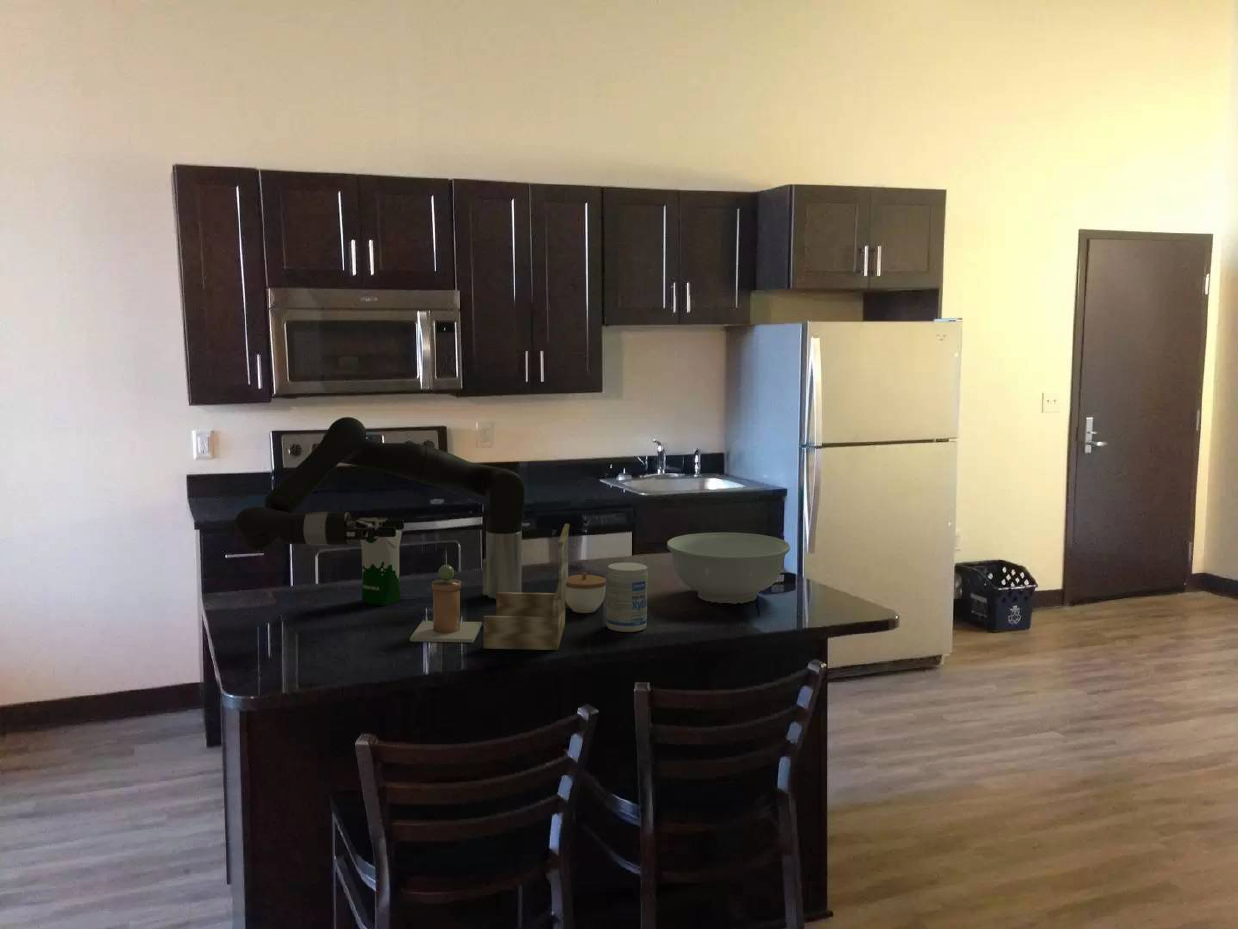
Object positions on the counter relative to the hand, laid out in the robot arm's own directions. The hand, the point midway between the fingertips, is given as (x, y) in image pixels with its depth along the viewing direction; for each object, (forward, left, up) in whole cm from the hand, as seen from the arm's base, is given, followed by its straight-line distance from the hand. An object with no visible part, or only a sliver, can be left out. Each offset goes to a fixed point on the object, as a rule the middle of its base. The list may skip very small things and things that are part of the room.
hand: (399, 528), depth 238 cm
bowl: (+48, +73, -24) cm, 90 cm away
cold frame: (+25, +15, -24) cm, 37 cm away
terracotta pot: (+9, +6, -23) cm, 26 cm away
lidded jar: (+24, +41, -24) cm, 53 cm away
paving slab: (+9, +6, -24) cm, 26 cm away
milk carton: (-23, +19, -24) cm, 39 cm away
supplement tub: (+41, +33, -24) cm, 57 cm away
